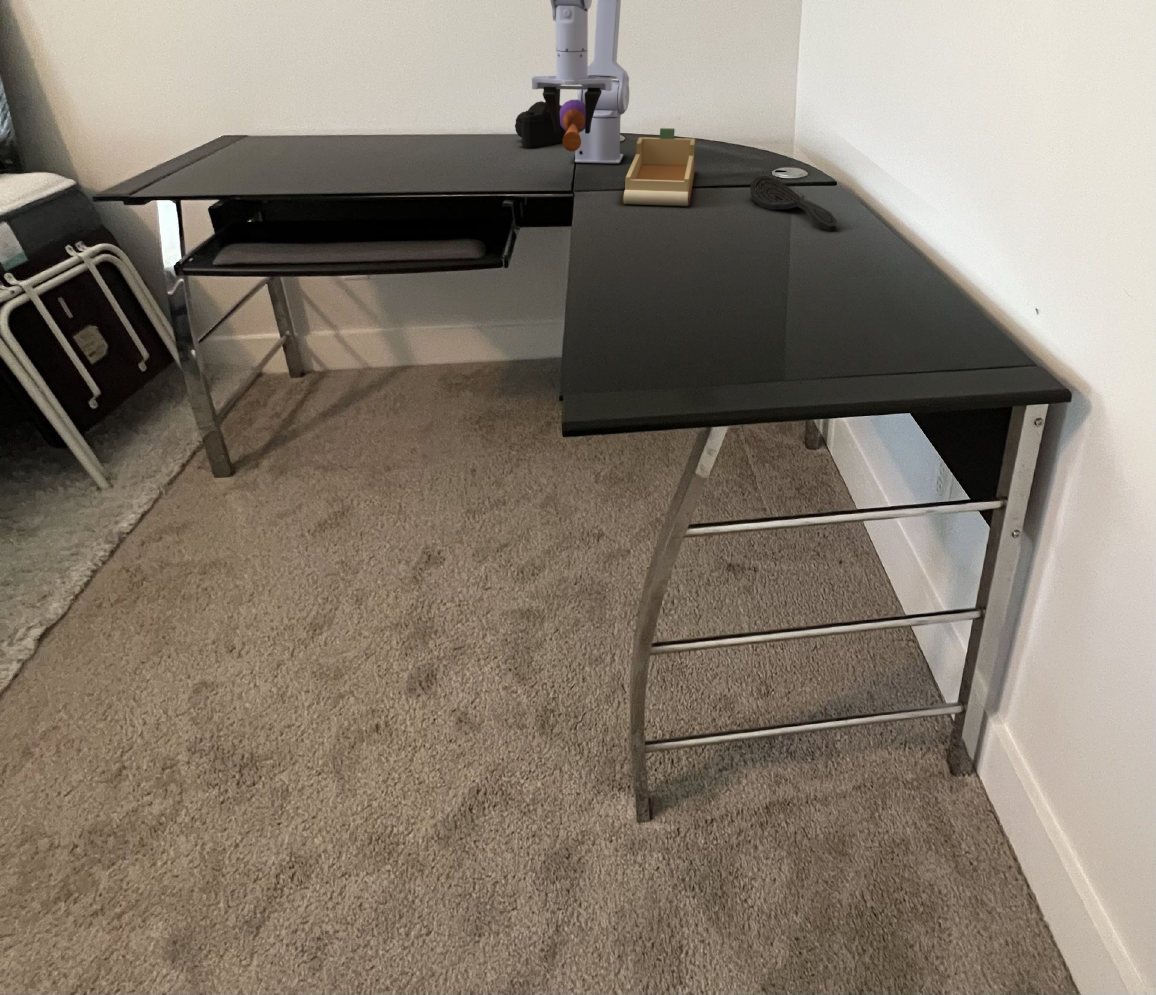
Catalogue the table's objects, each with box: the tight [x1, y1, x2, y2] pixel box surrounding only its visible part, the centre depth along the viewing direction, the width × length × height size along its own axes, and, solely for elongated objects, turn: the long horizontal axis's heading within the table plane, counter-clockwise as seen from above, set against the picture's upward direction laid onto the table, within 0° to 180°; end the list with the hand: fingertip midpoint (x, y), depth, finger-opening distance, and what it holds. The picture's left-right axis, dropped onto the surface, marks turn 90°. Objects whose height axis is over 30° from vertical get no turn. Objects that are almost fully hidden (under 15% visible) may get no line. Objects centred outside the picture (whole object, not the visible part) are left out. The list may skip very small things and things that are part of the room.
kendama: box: [560, 99, 586, 152], centre depth 157 cm, size 6×6×20 cm
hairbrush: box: [749, 171, 838, 232], centre depth 145 cm, size 8×4×25 cm
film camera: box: [514, 100, 567, 149], centre depth 194 cm, size 15×10×9 cm, turn 133°
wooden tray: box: [622, 127, 696, 207], centre depth 157 cm, size 27×12×8 cm, turn 171°
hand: (572, 132), depth 157 cm, fingers closed on kendama, 5 cm apart
